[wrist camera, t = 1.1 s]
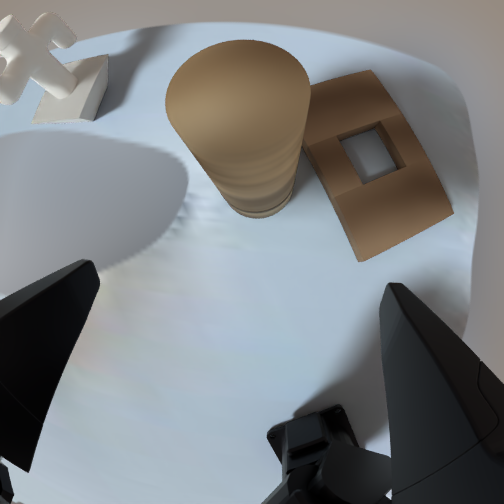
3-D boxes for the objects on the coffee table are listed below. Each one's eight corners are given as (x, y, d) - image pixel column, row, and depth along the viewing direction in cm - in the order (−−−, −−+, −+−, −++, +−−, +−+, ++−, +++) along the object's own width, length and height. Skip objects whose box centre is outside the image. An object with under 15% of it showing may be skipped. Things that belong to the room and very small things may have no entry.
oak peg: (303, 205, 21) (338, 118, 8) (241, 233, 22) (191, 179, 9) (275, 148, 22) (270, 25, 9) (215, 174, 22) (150, 73, 9)
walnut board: (445, 216, 20) (454, 213, 19) (358, 261, 21) (364, 261, 19) (366, 78, 22) (370, 69, 20) (278, 105, 22) (278, 96, 20)
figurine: (127, 65, 24) (56, -29, 9) (95, 144, 23) (-16, 66, 8) (78, 73, 24) (5, 2, 9) (48, 145, 24) (-52, 90, 9)
